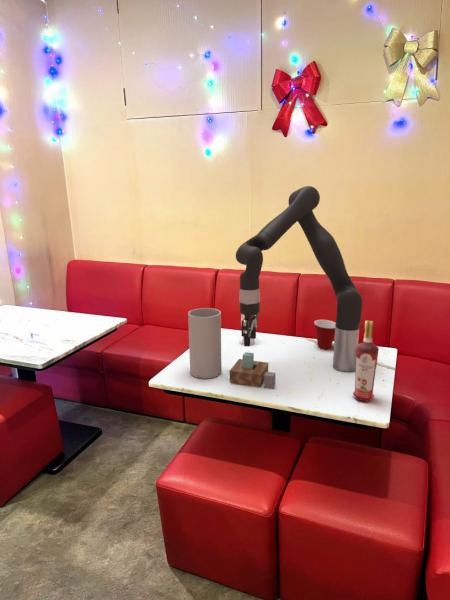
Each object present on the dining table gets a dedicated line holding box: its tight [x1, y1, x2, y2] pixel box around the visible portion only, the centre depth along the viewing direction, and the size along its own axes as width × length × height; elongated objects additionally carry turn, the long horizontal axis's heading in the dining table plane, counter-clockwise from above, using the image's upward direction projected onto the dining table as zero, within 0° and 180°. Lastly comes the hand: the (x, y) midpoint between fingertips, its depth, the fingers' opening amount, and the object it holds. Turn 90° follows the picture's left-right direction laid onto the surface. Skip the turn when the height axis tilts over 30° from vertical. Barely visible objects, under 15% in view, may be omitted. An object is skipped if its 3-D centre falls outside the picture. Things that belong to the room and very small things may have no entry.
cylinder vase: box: [187, 307, 222, 380], centre depth 167 cm, size 12×12×25 cm
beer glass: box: [240, 313, 256, 346], centre depth 200 cm, size 7×7×15 cm
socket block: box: [229, 358, 269, 388], centre depth 164 cm, size 12×12×5 cm
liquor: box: [352, 320, 380, 402], centre depth 145 cm, size 7×7×28 cm
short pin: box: [263, 371, 276, 390], centre depth 158 cm, size 3×3×5 cm
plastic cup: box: [313, 319, 336, 351], centre depth 194 cm, size 11×11×12 cm
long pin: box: [242, 351, 255, 370], centre depth 164 cm, size 3×3×10 cm
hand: (250, 342), depth 160 cm, fingers open, 8 cm apart
